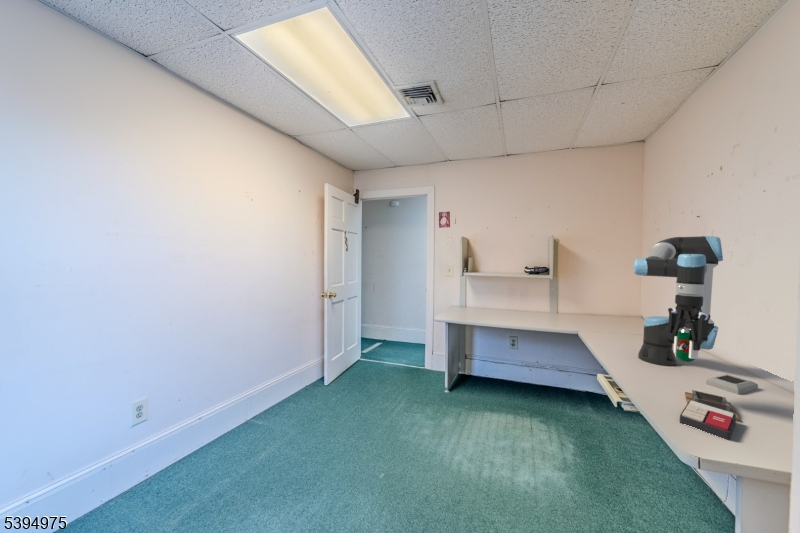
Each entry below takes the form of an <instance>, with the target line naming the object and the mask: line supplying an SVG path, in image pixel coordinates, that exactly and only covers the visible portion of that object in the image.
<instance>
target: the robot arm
mask: <svg viewBox="0 0 800 533" xmlns="http://www.w3.org/2000/svg"><path fill="white" fill-rule="evenodd" d="M649 250H650V251H649V254H648V255H647V257H640V258H636V259H635V260H634V263H633V271H634V274H635V275H636V276H643V277H662V278H663V277H665V278H676V282H675V283H676V285H675V293H676V294H675V300H674V303H675V304H676V306H674V307H669V308H668V309H667V310H668V316H665V315H664V316H655V315H654V316H648V317H646V318H645V319H644V321H643V322H644V323H643V340H642V341H643V342H642V345H641V347H640V349H639V351H638V354H637V357H638V359H639V360H641V361H643V362H647V363H649V364H655V365H659V366H666V367H667V366H669V367H672V366H676V365H677V361H678V359H677V358H676V347H677V331H678V330H679V328H690V330H691V335H692V340H691V341H690V346H689V358H691V359H694V360H696V359H699V351H700V350H709V351H710V350H713V349H714V346H715V342H716V339H717V335H718V332H719V326H717V325H715V321H713V320H712V319H711V309H712V308H711V307H712V293H713V291H712V289H713V276H714V269H715V267H717V266H718V265H719V262H722V261H724V258H723V257H724V256H723V255H724V254H723V251H722V250H723V249H722V240H721V238H720V237H718V236H713V235H711V236H707V235H705V236H704V235H703V236H676V237H675V236H674V237H669V238H665V239H662V240H660V241H658V242H656V243H655V244H653V245H652V246H651V248H650V249H649Z"/></svg>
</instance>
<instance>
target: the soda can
mask: <svg viewBox="0 0 800 533" xmlns="http://www.w3.org/2000/svg"><path fill="white" fill-rule="evenodd" d="M691 340H692V335H691V330H690V328H679V330H678V331H677V347H676V353H675V357H676V360H679V361H682V362H686V363H687V362H688V363H693V362H694V361H695V359H691V358H689V346H690V341H691Z"/></svg>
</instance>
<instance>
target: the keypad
mask: <svg viewBox="0 0 800 533" xmlns="http://www.w3.org/2000/svg"><path fill="white" fill-rule="evenodd" d="M705 384H706V385H707V386H711V387H714V388H717V389H719V390H723V391H726V392H729V393H732V394H735V395H742V394H745V393H748V392H752V391H756V389H757V390H758V388H759V384H758V383H757V382H754V381H752V380H748V379H745V378H741V377H739V376H734V375H731V374H722V375H718V376H714V377H713V376H712V377H709V378H708V379H706V383H705Z"/></svg>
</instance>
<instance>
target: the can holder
mask: <svg viewBox="0 0 800 533" xmlns="http://www.w3.org/2000/svg"><path fill="white" fill-rule="evenodd" d="M684 396H685V400H686V405H687V404H688V402H689V401H695V402H698V403H701V404H705V405H708V406H711V407H715V408H718V409H721V410H725V411H728V412H731V413H734V414H735V415H736V420H735V422H737V423H740V417H739V416H738V414H737V412H736V410H735V408H734V407H733V404H732V403H731V402H730V401H728V400H727V397H726V396H720V395H717V394H711V393H708V392H703V391H699V390H698V391H697V390H694V389H692V390H691V392H687V391H685V392H684Z"/></svg>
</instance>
